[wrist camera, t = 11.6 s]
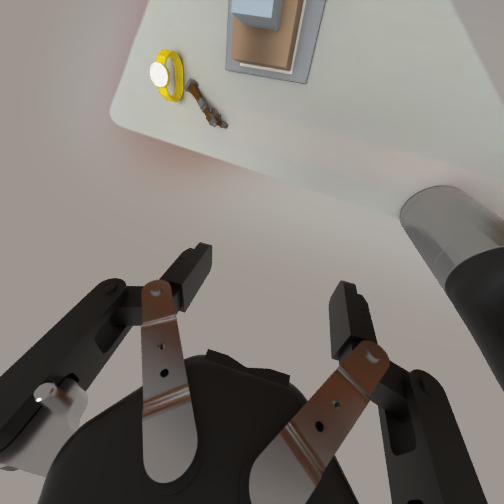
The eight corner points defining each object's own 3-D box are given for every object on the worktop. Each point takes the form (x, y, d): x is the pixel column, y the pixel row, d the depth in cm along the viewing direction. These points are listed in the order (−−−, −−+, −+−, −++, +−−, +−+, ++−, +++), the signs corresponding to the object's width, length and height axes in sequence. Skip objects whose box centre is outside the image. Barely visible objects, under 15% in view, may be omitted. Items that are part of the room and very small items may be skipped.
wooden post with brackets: (225, 135, 37) (208, 129, 33) (202, 98, 37) (182, 87, 33) (232, 127, 36) (215, 120, 32) (208, 89, 36) (188, 77, 32)
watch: (171, 53, 33) (147, 41, 28) (188, 56, 32) (166, 45, 27) (172, 100, 36) (151, 97, 31) (187, 103, 36) (168, 101, 31)
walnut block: (312, -48, 23) (311, -76, 19) (290, 71, 29) (286, 67, 26) (251, -54, 24) (239, -83, 20) (242, 63, 30) (231, 58, 26)
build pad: (338, -55, 23) (339, -61, 22) (306, 83, 31) (305, 83, 30) (234, -65, 24) (231, -71, 24) (227, 70, 32) (225, 69, 31)
